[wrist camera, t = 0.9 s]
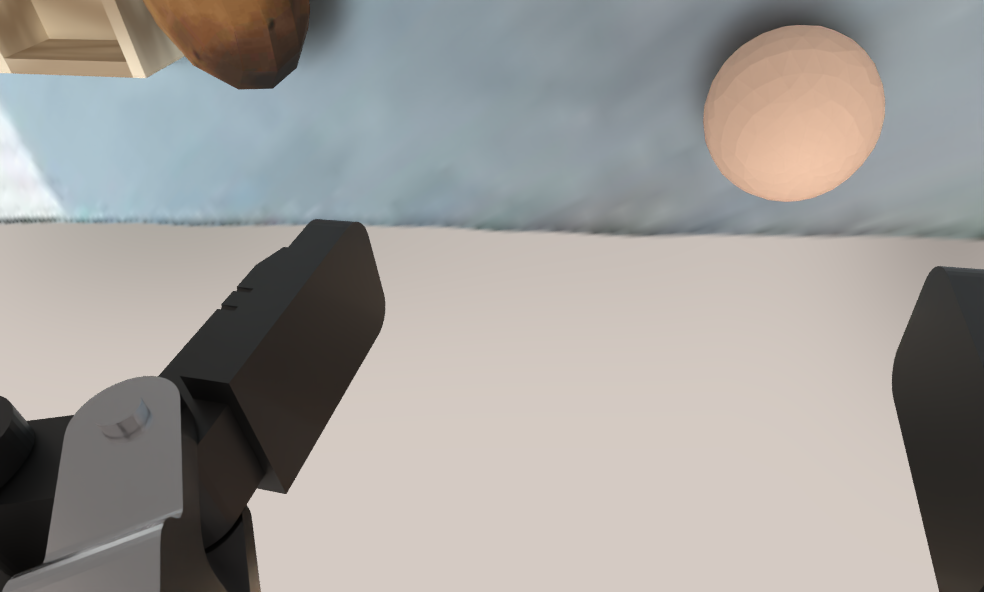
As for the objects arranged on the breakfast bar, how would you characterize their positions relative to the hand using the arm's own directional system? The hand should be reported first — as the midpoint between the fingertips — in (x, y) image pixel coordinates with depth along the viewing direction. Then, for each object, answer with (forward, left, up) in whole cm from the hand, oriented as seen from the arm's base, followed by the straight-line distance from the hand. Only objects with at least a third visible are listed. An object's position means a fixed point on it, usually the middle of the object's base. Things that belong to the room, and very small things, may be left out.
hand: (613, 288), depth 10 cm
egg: (+6, +5, -24) cm, 25 cm away
